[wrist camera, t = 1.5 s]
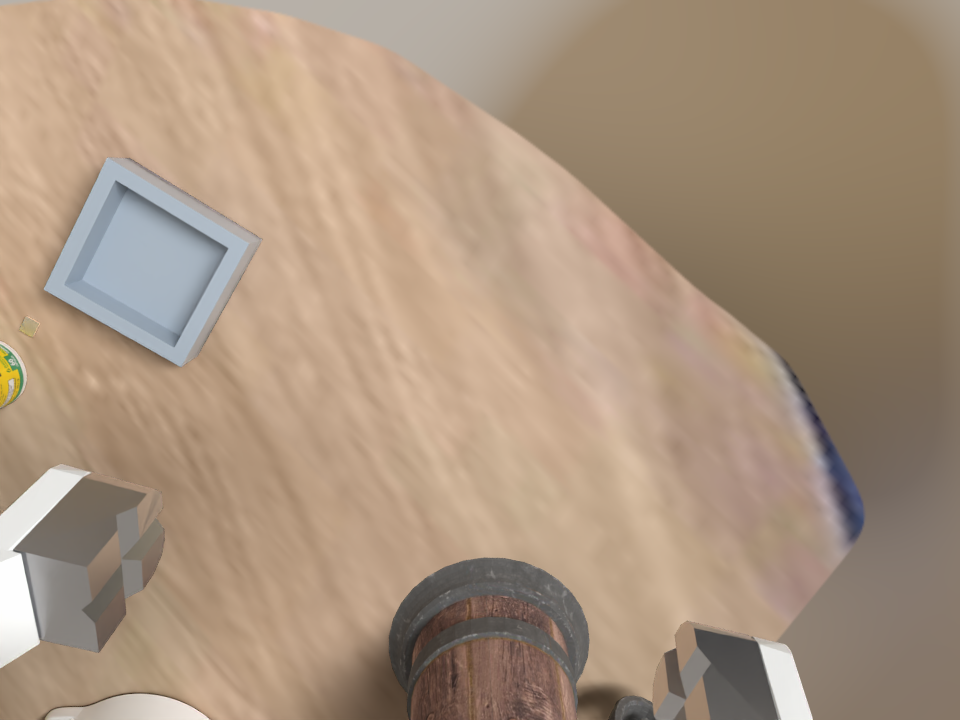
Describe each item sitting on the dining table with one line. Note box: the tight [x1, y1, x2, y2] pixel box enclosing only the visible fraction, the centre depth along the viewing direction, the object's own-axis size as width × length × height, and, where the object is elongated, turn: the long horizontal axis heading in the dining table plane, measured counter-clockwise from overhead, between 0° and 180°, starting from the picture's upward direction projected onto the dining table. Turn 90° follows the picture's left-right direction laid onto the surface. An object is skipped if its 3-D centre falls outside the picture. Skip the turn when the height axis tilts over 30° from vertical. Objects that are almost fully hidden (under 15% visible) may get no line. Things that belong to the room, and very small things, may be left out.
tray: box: [44, 157, 262, 367], centre depth 46 cm, size 10×10×3 cm
